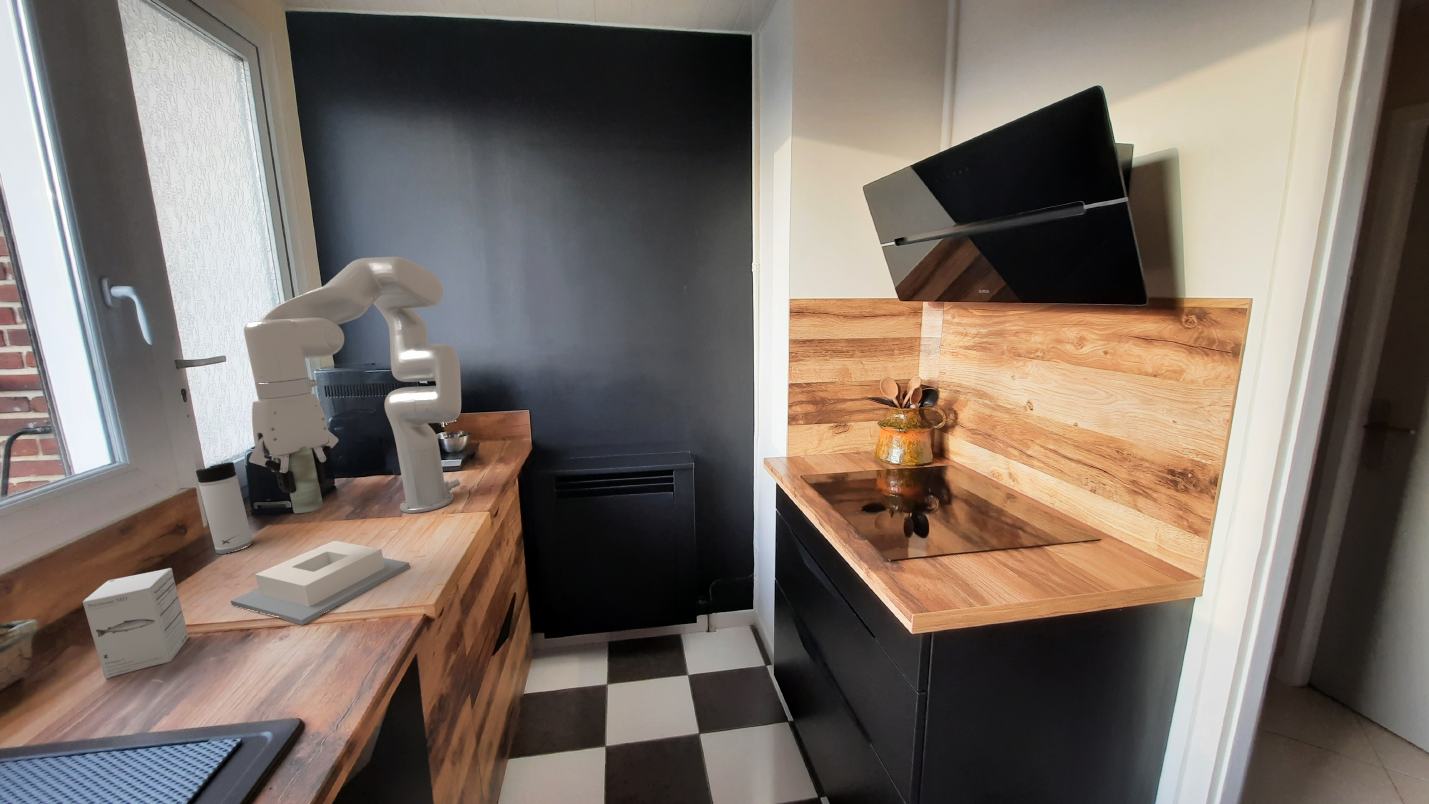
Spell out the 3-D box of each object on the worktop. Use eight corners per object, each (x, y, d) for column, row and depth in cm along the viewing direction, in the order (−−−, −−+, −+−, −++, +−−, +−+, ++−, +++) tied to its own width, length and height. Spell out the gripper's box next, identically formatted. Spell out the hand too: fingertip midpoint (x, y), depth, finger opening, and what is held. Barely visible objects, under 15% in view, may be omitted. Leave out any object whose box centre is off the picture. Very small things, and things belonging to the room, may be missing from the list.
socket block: (343, 554, 113) (339, 532, 112) (410, 567, 106) (405, 544, 105) (231, 605, 95) (225, 580, 94) (302, 625, 87) (296, 598, 86)
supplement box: (103, 681, 76) (78, 602, 74) (129, 652, 83) (107, 578, 80) (171, 663, 79) (149, 587, 77) (191, 636, 86) (172, 565, 83)
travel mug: (232, 555, 115) (210, 468, 111) (208, 553, 117) (186, 468, 113) (261, 542, 121) (241, 459, 117) (238, 541, 123) (218, 459, 119)
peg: (313, 503, 101) (301, 442, 98) (328, 505, 99) (316, 443, 97) (288, 511, 97) (274, 449, 94) (303, 514, 95) (290, 450, 93)
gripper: (320, 382, 103) (337, 471, 106) (214, 398, 87) (237, 502, 91) (346, 382, 100) (362, 474, 103) (240, 399, 85) (264, 506, 88)
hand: (304, 486), depth 97 cm, fingers closed on peg, 4 cm apart
